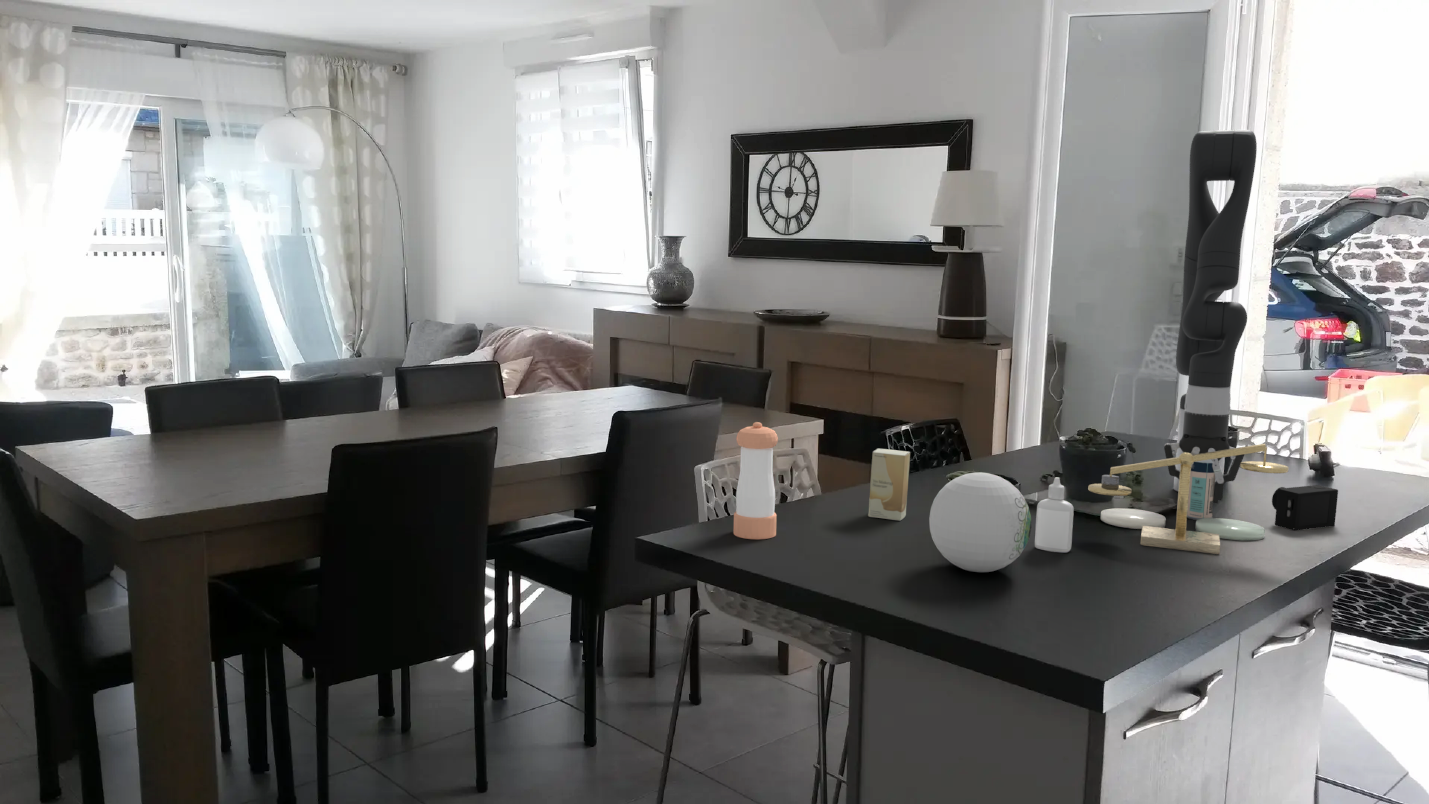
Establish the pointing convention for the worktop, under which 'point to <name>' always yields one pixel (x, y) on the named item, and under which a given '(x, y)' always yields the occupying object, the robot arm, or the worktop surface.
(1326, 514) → the digital camera
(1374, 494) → the worktop surface
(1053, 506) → the eye dropper bottle
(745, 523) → the pepper shaker
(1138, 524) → the glossy white dome
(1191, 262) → the robot arm
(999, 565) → the decorative object
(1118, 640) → the worktop surface
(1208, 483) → the beer can
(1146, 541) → the balance
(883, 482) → the skincare box
